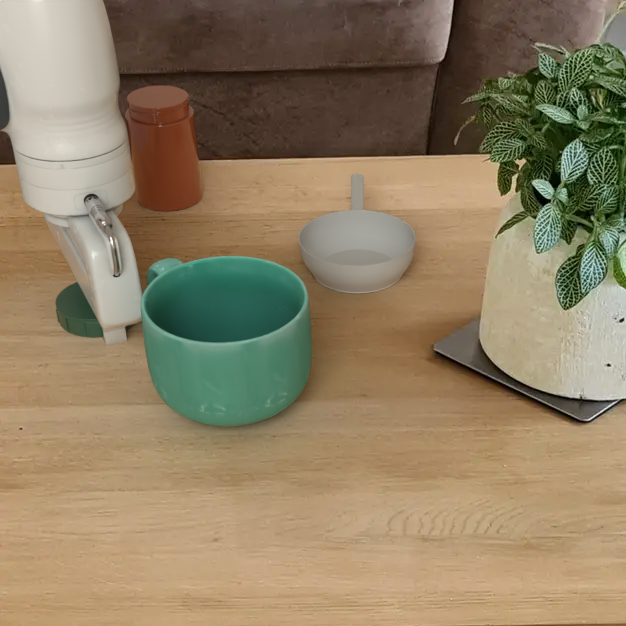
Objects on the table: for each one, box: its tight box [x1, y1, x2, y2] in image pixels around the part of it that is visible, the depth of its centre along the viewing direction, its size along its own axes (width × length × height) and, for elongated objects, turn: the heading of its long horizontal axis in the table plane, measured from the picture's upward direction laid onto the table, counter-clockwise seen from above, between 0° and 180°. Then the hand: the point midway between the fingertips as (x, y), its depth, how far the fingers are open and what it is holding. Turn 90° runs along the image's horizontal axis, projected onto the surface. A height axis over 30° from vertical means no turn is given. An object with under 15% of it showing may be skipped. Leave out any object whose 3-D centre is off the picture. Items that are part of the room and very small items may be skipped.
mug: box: [141, 255, 313, 427], centre depth 91 cm, size 17×13×10 cm
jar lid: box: [55, 281, 137, 338], centre depth 101 cm, size 7×7×2 cm
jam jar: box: [124, 85, 204, 212], centre depth 117 cm, size 7×7×11 cm
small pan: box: [297, 173, 417, 294], centre depth 111 cm, size 11×18×4 cm, turn 3°
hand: (102, 319), depth 102 cm, fingers closed on jar lid, 7 cm apart
